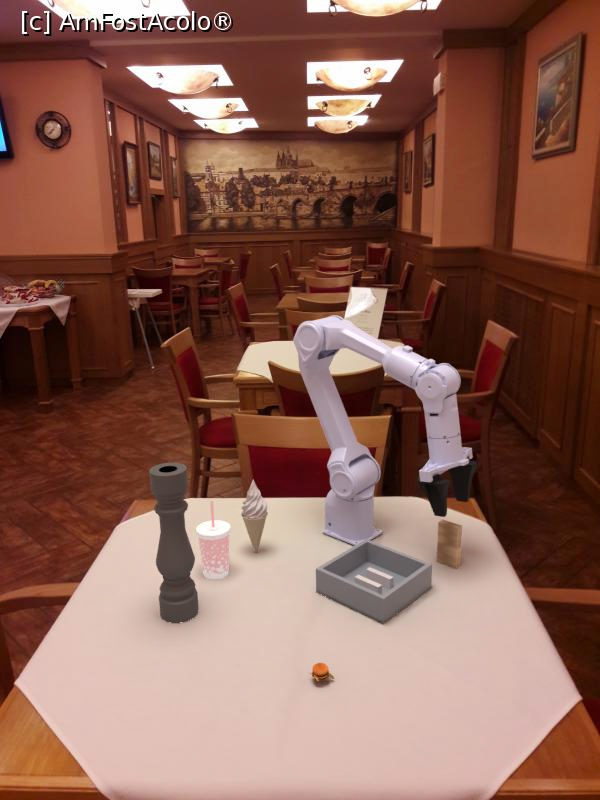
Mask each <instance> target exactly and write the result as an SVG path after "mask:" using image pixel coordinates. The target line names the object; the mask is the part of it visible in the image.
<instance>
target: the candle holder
mask: <svg viewBox="0 0 600 800" xmlns="http://www.w3.org/2000/svg"><path fill="white" fill-rule="evenodd" d="M148 472H149V473H148V474H149V484H150V492H151V494H152V495H153V497H154V498H155V500H156V503H155V504H154V507H153V509H154V512H155V514H157V516H158V517H159V530H160V533H159V539H158V540H159V541H158V546H157V552H156V558H155V566H156V568H157V571H158V572H159V573H160V575H161V576H162V579H163V581H162V582H161V583H160V586H159V591H160V593H159V596H158V603H159V604H158V605H159V614H160V617H161V620H163V621H164V622H165V623H169V622H171V623H170V624H181V623H180V622H183V623H186V622H185V621H187V622H189V621H191V620H193V619H195V618H196V616H197V615H199V611H200V609H199V607H200V606H199V592H198V590H197V589H196V583H195V580H194V579H193V578H192V577H191V572H192V571H193V569H194V565H195V563H196V558H195V553H194V551H193V548H192V544H191V543H190V539H189V536H188V533H187V530H186V520H185V519H186V517H185V513H186V511H187V510H188V507H189V503H188V502H187V501H186V500H185V496H186V494H187V491H188V488H189V478H188V467H187V465H185V464H184V463H181V462H165V463H164V462H163V463H159V464H156V465H154V466H153V467H151V468H150V469H149V470H148ZM198 610H199V611H198ZM192 618H193V619H192ZM190 619H191V620H190ZM188 620H189V621H188Z"/></svg>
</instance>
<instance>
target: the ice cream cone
mask: <svg viewBox="0 0 600 800" xmlns="http://www.w3.org/2000/svg"><path fill="white" fill-rule="evenodd" d="M246 493H247V494H246V498H245V499H244V500H243V501H242V504H243V505H242V506H241V509H242V512H241V515H240V516H241V517H242V520H243V522H244V524H245V525H244V526H245V529H246V531H247V534H248V537H249V541H250V542H251V545H252V548H253V550H254V553H256V554H257V553H258V551H259V548H260V543H261V540H262V536H263V531H264V528H265V525H266V524H265V523H266V519H267V516H268V513H269V512H268V503H267V501H266V500H265V498H264V497H263V496H262V494H261V491H260V489H259V488H258V486H257V483H256V482H255V480H254V479H252V481H251V484H250V487H249V488H248V490H247V492H246Z"/></svg>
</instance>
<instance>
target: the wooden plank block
mask: <svg viewBox="0 0 600 800" xmlns="http://www.w3.org/2000/svg"><path fill="white" fill-rule="evenodd" d="M462 533H463V525H461V524H459V523H455V522H452V521H449V520H446V519H441V520H439V521H438V522H437V540H436V541H437V544H436V562H437V563H439V564H442V565H443V566H447V567H450V568H452V569H458V568H459V567H460V566H461V559H462V558H461V555H462V554H461V553H462Z"/></svg>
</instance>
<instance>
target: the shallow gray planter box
mask: <svg viewBox="0 0 600 800" xmlns="http://www.w3.org/2000/svg"><path fill="white" fill-rule="evenodd" d="M432 573H433V564H432V563H430V562H427V561H425V560H422V559H419V558H418V557H415V556H412V555H410V554H407V553H404V552H401V551H398V550H397V549H395V548H394V549H393V548H391V547H388V546H386V545H383V544H380V543H378V542H375V541H372V540H368V539H365V540H364V541H362V542H360V543H359V544H357V545H353V546H352V547H350V548H348V549H347V550H345V551H344V552H342V553H340V554H339V555H336V556H335V557H333V558H332V559H330V560H328V561H326V562H325V563H323V564H322V565H320V566H318V567H316V568H315V593H317V592H318V593H317V594H319V595H321V594H322V595H321V596H323V597H325V596H326V597H325V598H326V599H330V600H331V599H332V600H331V601H333V602H336V603H338V604H340V605H342V606H344V607H346V608H347V609H350V610H353V611H355V612H356V613H358V612H359V613H358V614H360V613H361V614H360V615H363V616H365V617H367V618H370V619H371V620H373V621H376V622H378V623H380V624H382V625H384V624H385V623H387V622H388V621H390V620H391V619H392V618H393V617H395V616H396V615H397V614H399V613H400V612H401V611H403V610H404V609H405V608H407V607H408V606H409V605H410V604H412V603H413V602H415V601H416V600H417V599H419V598H420V597H421V596H422V595H424V594H425V593H426V592H427V591H428V590H430V589H431V588H432V579H433V577H432V576H433V574H432Z"/></svg>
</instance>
